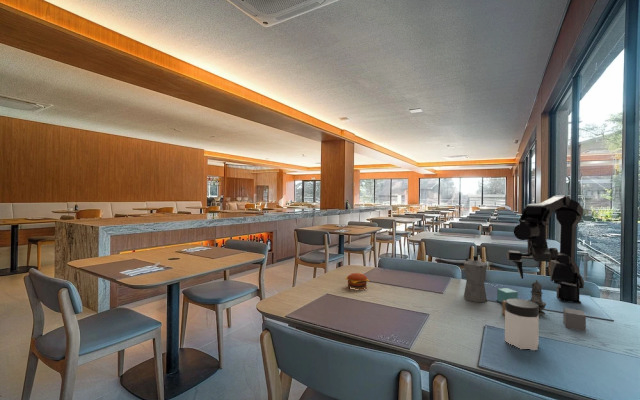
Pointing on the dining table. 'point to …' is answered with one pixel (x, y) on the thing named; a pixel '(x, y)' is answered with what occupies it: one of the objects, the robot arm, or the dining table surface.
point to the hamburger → (357, 281)
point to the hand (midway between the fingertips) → (536, 279)
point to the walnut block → (503, 307)
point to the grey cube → (574, 319)
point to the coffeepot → (475, 280)
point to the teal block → (506, 294)
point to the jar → (522, 323)
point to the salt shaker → (537, 297)
